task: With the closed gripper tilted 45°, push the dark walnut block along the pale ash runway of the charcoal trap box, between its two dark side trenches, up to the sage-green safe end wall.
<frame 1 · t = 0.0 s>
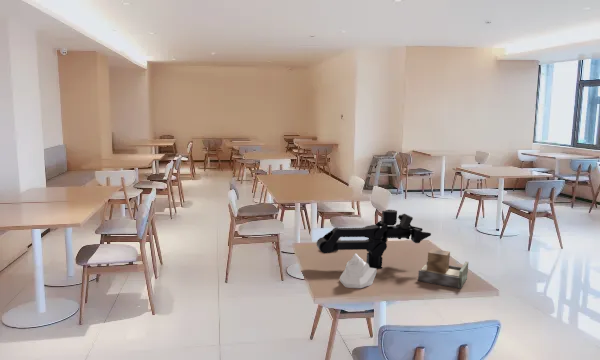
hand: (426, 231, 231), 17 cm above the table, tool horizontal, fingers open, 9 cm apart
trap box: (442, 279, 214), on the table
white faceted rock: (356, 284, 204), on the table
die: (332, 249, 256), on the table
walnut block: (437, 269, 215), point 4 cm above the table, touching trap box
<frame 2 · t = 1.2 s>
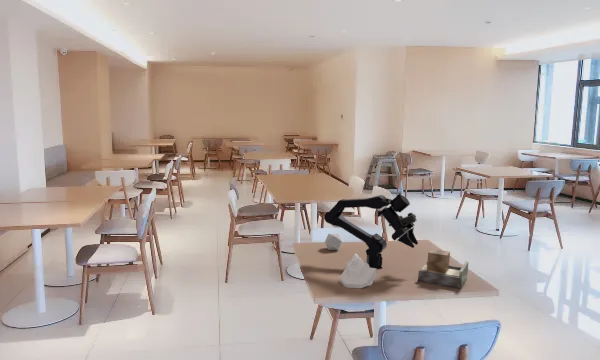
hand: (415, 245, 218), 13 cm above the table, tool tilted 45°, fingers open, 6 cm apart
nothing on the table moved.
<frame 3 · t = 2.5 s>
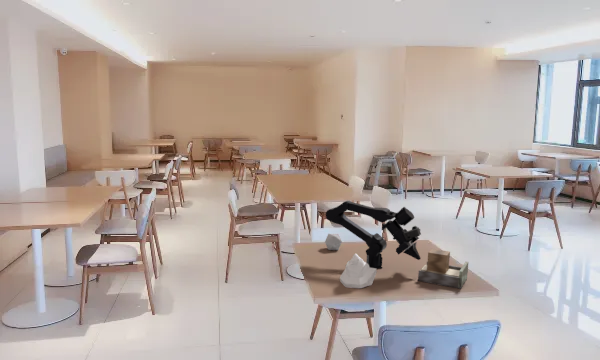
hand: (419, 259, 218), 7 cm above the table, tool tilted 45°, fingers closed
nothing on the table moved.
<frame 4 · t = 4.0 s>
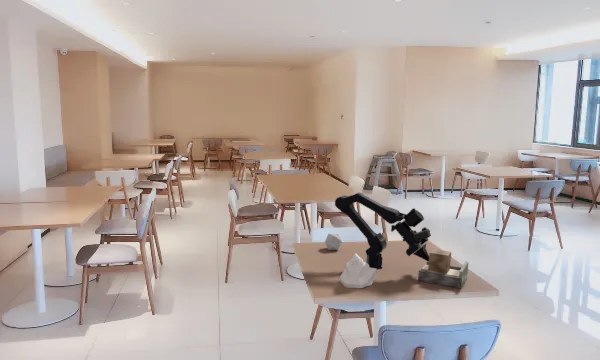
hand: (429, 261, 216), 7 cm above the table, tool tilted 45°, fingers closed, pressing on walnut block
walnut block: (439, 269, 214), point 4 cm above the table, touching gripper
everything else where it was.
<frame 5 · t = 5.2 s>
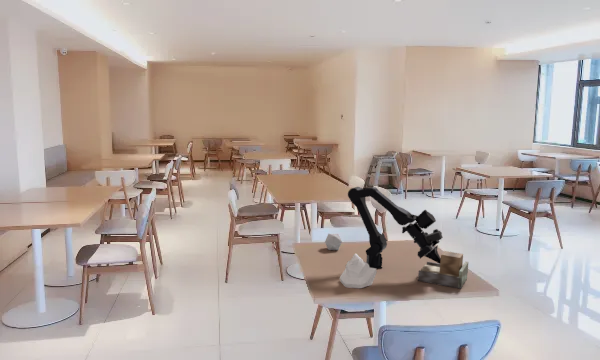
hand: (441, 263, 214), 7 cm above the table, tool tilted 45°, fingers closed, pressing on walnut block
walnut block: (450, 272, 212), point 4 cm above the table, touching gripper, trap box
everything else where it was.
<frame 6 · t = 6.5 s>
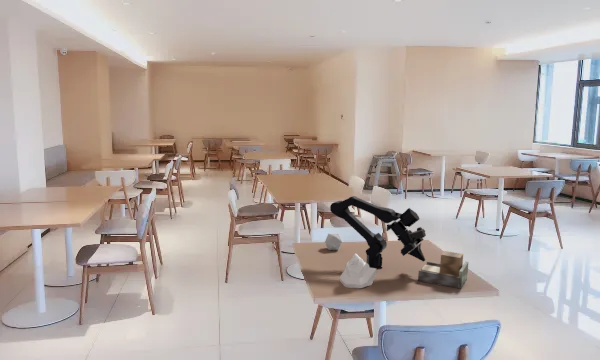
hand: (424, 260, 217), 7 cm above the table, tool tilted 45°, fingers closed
walnut block: (450, 272, 212), point 4 cm above the table, touching trap box
everything else where it was.
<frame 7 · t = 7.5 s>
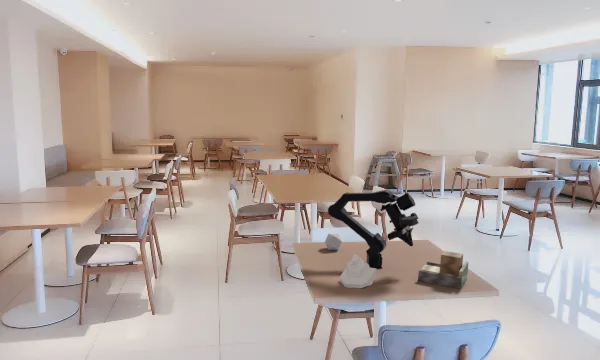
hand: (412, 245, 220), 12 cm above the table, tool tilted 35°, fingers closed
nothing on the table moved.
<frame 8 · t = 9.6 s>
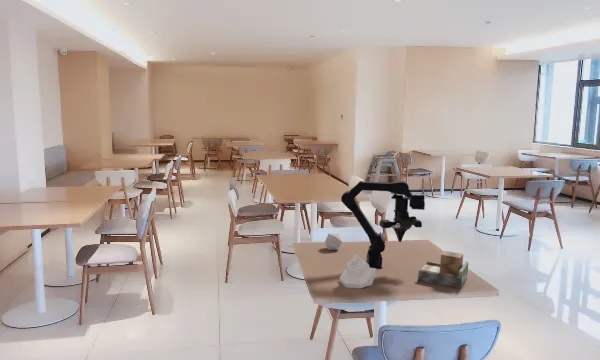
hand: (399, 241, 225), 13 cm above the table, tool pointing down, fingers closed
nothing on the table moved.
at the end: walnut block 1.1 cm from the target spot, point 4.0 cm above the table; walnut block tilted 0°; walnut block moved 5.6 cm from its start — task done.
